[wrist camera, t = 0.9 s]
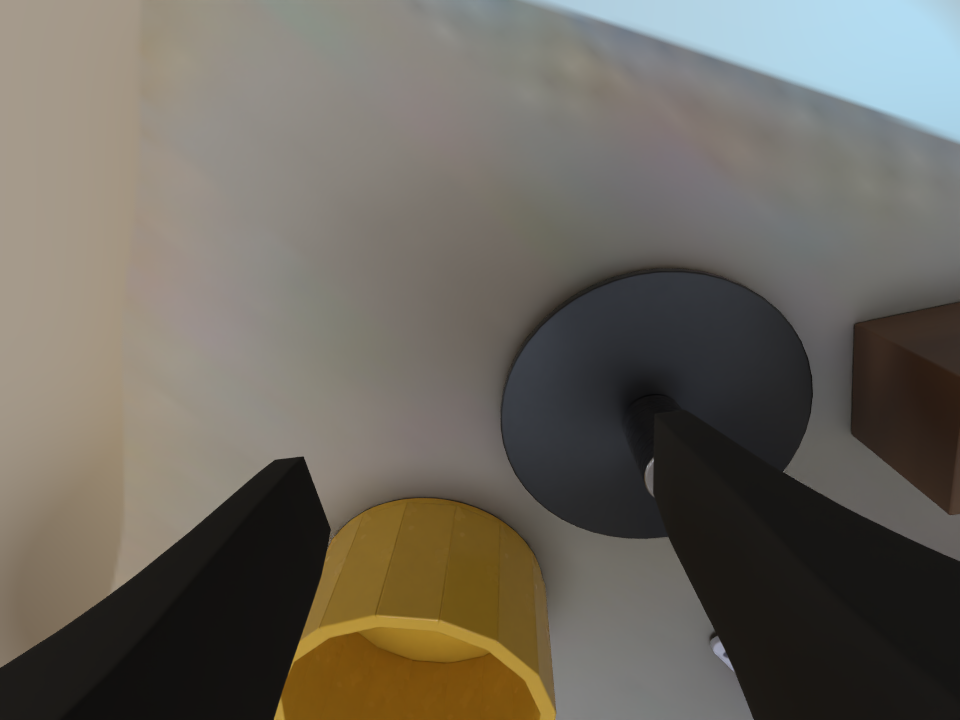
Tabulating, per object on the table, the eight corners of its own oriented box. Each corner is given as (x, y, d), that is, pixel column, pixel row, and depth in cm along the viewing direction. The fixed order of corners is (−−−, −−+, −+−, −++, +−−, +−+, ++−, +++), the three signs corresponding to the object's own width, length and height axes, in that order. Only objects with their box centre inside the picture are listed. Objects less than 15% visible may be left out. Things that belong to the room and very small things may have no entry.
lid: (853, 420, 20) (947, 493, 16) (614, 562, 24) (638, 653, 20) (687, 193, 17) (747, 208, 13) (442, 395, 21) (424, 459, 16)
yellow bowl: (588, 598, 25) (614, 737, 19) (431, 689, 28) (411, 831, 22) (433, 455, 22) (406, 566, 16) (279, 575, 25) (210, 704, 19)
